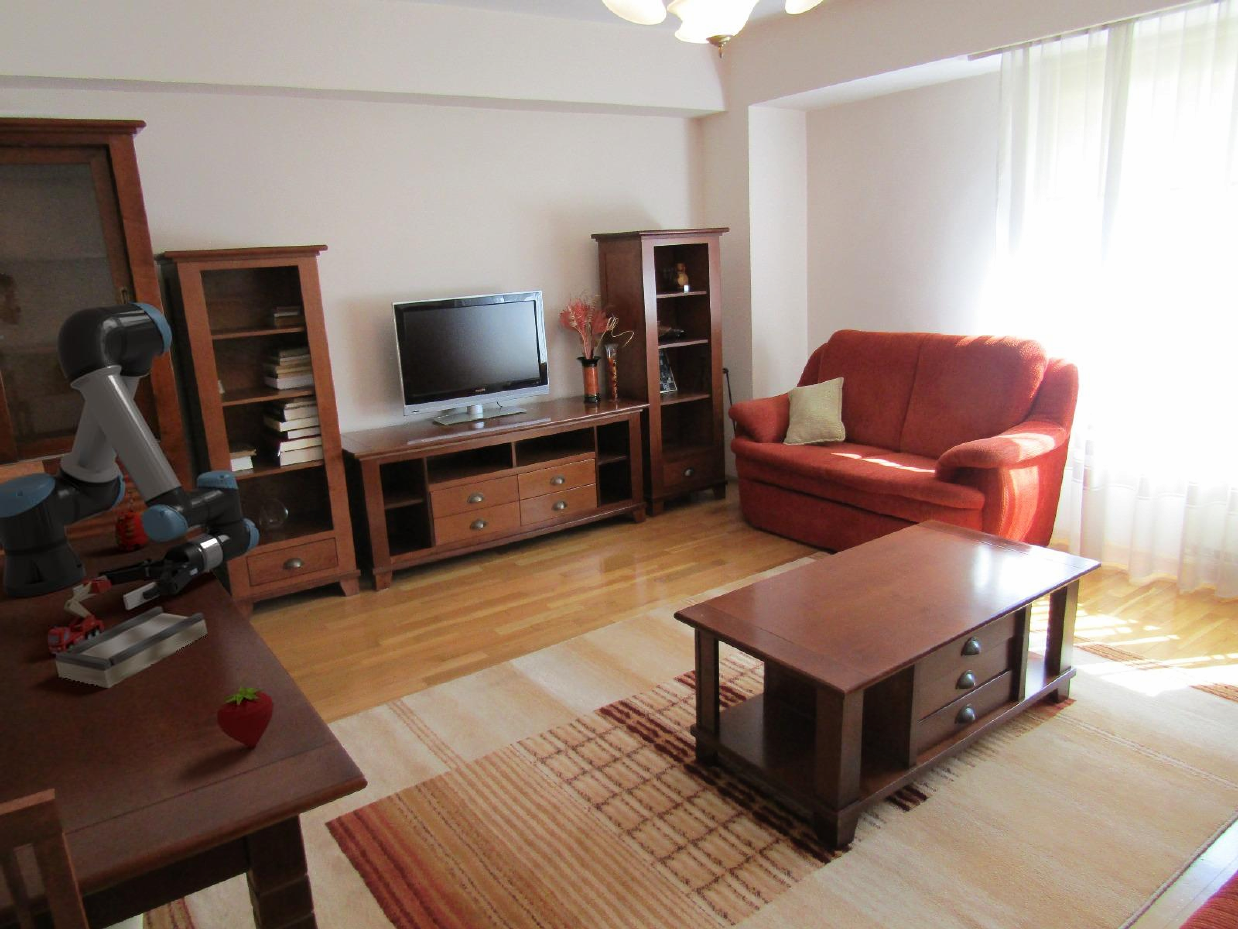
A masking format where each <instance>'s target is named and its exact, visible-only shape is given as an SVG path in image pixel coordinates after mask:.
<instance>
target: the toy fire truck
mask: <svg viewBox="0 0 1238 929" xmlns="http://www.w3.org/2000/svg"><path fill="white" fill-rule="evenodd" d="M82 584H83V586H84V588H83V589H82V590H81V591H80V592H79V593H77V594H76V595H75V596H74V595H73V597H72V598H71V599H67V600H66V602H65V605H64V606H63V610H64V611H66V612H68V613H70V614H71V615H73V616H75V618H74V619H73V620H72V621H71V622H70V624H69V625H68V627H66V626H65V627H59V626H58V627H57V626H54V627H53V628H52V629H49V631H48V633H47V638H46V641H47V644H48V648H49V652H50V653H51V655H52V654H53V655H56V654H58V653H60V652H62V651H63V652H66V650H67V649H69V648H71V647H73V646H75V645H77V644H79V643H81V642H83V641H86V640H88V639H90V638H92V637H94V636H96V635H98V634H100V633H102V632H104V631H105V627H104V623H103V620H101V619H100V620H99V619H96V618H95V617H96V616H95V615H93V614H91V613H90V611H89V610H87V609H86V608H85V607H84V606H83V605H82V604H80V602H81V601H80V600H81V599H82V598H83V597H84V596H85V595H86V594H96V595H98V594H99V595H102V594H104V593H105V592H108V591H109V590H110V589H112V587H113V586H111V583H110V580H109V579H96V578H94V579H90V580H86V581H83V582H82Z"/></svg>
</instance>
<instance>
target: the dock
mask: <svg viewBox="0 0 1238 929" xmlns="http://www.w3.org/2000/svg"><path fill="white" fill-rule="evenodd" d="M206 634H208V629H207V624H206V620H205V619H204V615H203V613H202V612H196V613H194V614H193V615H190V616H184V615H177V614H171V613H167V612H166V613H164V611H163V607H162V606H159V605H158V606H157V605H156V606H155V607H153V608H150V609H149V610H147V611H145V612H143V613H140V614H138V615H136V616H134V617H132V618H130V619H127V620H126V621H123V622H121V623H119V624H118V625H115V626H113V627H111V628H109V629H107V630H103V631H102V632H100V634H98V635H96V636H94V635H93V637H92V638H90V639H88V640H86V641H83V642H81V643H79V644H77V645H75V646H73V647H71V648H69V649H67V650H66V652H63V651H62V652H60V653H58V654H55V658H56V660H55V665H56V669H57V673H58V677H59V678H60V677H62V678H61V679H63V678H68V679H71V680H70V681H73V680H75V682H77V681H80V682H79V683H82V682H84V683H83V684H87V683H88V684H87V685H91V684H94V685H93V686H96V685H98V686H97V687H100V686H101V688H106V689H110V688H112V687H113V685H114V686H115V684H116V685H117V684H119V683H121V682H123V681H125V680H126V678H127V679H128V678H130V677H133V676H134V675H135V674H138V673H139V672H142V671H143V670H145V669H147V668H148V667H149V668H150V667H151V666H152V665H151V664H153V665H155V664H156V663H158V662H160V661H162V660H163V658H164V659H166V658H167V657H169V656H171V655H173V654H174V653H177V652H178V651H180V650H182V649H183V648H182V647H184V648H185V646H186V645H188V644H189V645H191V644H193V643H195V642H196V641H195V640H197V641H198V639H199V638H201V637H202V638H204V637H206V636H207V635H206ZM205 635H206V636H205ZM203 636H204V637H203ZM202 638H201V639H202ZM199 640H200V639H199ZM194 641H195V642H194ZM192 642H193V643H192ZM190 643H191V644H190ZM189 645H188V646H189ZM186 647H187V646H186ZM181 648H182V649H181ZM179 649H180V650H179ZM177 650H178V651H177ZM176 651H177V652H176ZM68 679H67V680H68ZM124 679H125V680H124Z"/></svg>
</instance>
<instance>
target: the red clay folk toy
mask: <svg viewBox="0 0 1238 929" xmlns="http://www.w3.org/2000/svg"><path fill="white" fill-rule="evenodd" d="M134 487H135V486H134V484H132V486H131V487H130V489H127V493H128V494H129V495H130V499H129V501H128V502H129V503H130V508H129V509H128V510H124V511H122V512H121V514H119V515H118V516H117V522H115V524H114V527H115V530H114V531H115V533H114V538H115V543H116V544H117V548H118V549H119V550H121V551H122V552H134V551H135V550H136V549H137V550H138V549H143V548H144V547H145V546H147V544H149V542H150V537H149V536H148V535H147V534H146V533H145V531H144V529H143V527H142V526H143V522H142V521H141V519H142V516H141V515H139V514H138V513H137V511H136V510H135V509H133V504H134V500H133V499H132V498H133V492H134V491H136V489H134Z"/></svg>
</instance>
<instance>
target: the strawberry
mask: <svg viewBox="0 0 1238 929" xmlns="http://www.w3.org/2000/svg"><path fill="white" fill-rule="evenodd" d="M239 681H240V682H241V684H242V685H241V686H240V688H238V690H237V693H236V694H233V695H229V696H225V697H223V700H227V701H225V702H223V704H221V707H219V709H218V711H217V715H216V723H217V725H218V726H219V728H220V729H221V730H222V732H223V733H224V734H225V735H227V736H228V737H230V738H232V740H234V741H237V742H239V743H241V744H243V745H244V746H245V747H249V748H253V747H255V746H257V744H258V743H260V740H261V738H262V737H263V735H264V734H265V732H266V731H267V728H268V727H269V725H270V722H271V720H272V719H273V712H274V706H275V705H274V704H275V703H274V701H273V700H272V697H271V695H269V694H267V693H265V692H263V691H265V689H263V688H262V689H255V687H249V688H247V686H245V684H244V682H243V681H242V680H241V679H239Z"/></svg>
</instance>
